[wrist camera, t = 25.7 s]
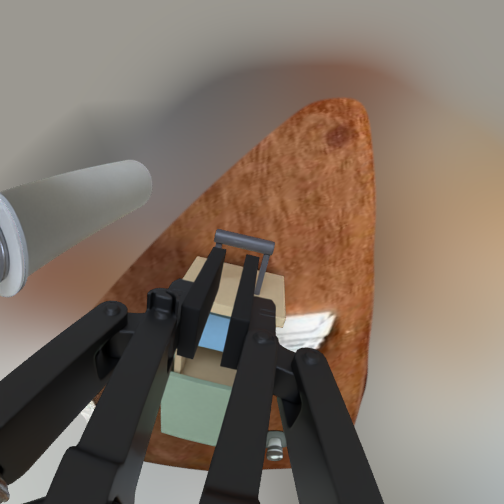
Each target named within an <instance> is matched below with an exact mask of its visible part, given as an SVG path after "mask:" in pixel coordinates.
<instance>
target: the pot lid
mask: <svg viewBox="0 0 504 504" xmlns="http://www.w3.org/2000/svg"><path fill="white" fill-rule="evenodd" d="M286 446H287V444H286V439H285V435H284V432H281V431H268V434H267V441H266V448H268V450H267V454H266V455H267V459H268V460H271V461H278V460H281V459H282V457H283V453H282V448H283V447H286Z"/></svg>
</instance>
